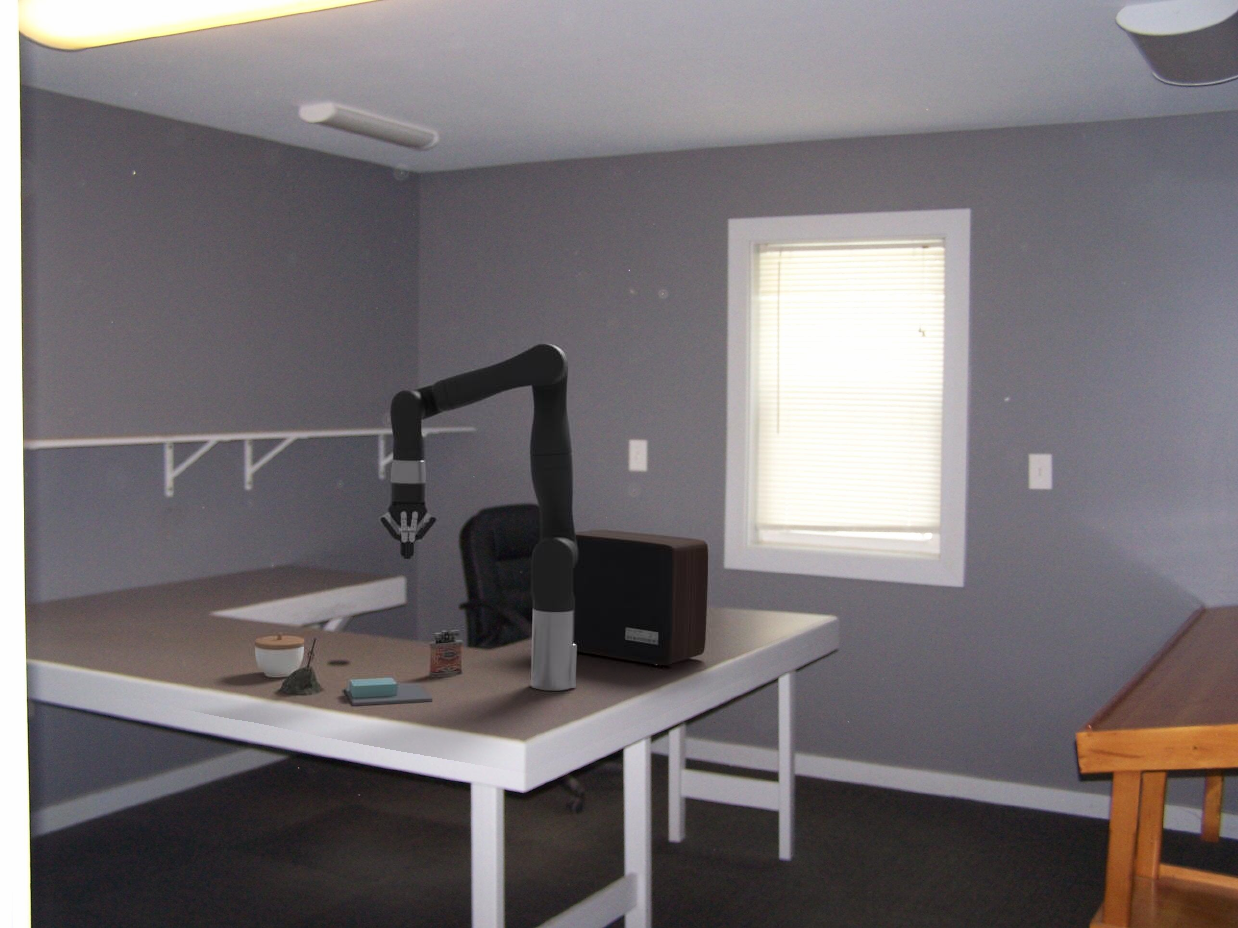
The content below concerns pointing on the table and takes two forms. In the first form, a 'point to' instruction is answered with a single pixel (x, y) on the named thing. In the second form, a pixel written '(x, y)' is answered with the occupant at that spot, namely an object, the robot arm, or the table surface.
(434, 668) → the lighter
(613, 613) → the radio
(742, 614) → the table surface
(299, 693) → the sword in stone
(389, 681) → the tile
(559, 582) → the robot arm
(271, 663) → the lidded jar
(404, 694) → the mat
